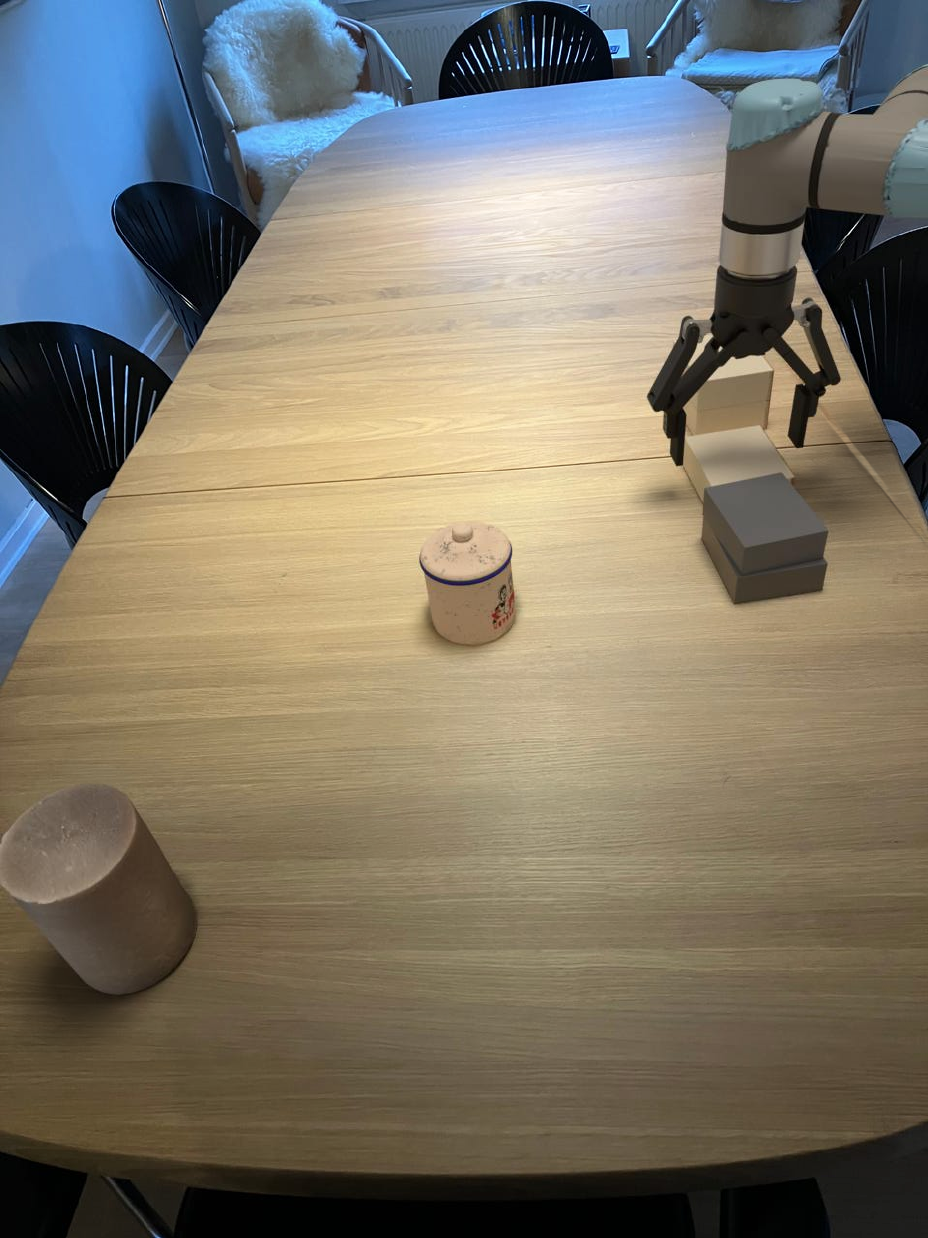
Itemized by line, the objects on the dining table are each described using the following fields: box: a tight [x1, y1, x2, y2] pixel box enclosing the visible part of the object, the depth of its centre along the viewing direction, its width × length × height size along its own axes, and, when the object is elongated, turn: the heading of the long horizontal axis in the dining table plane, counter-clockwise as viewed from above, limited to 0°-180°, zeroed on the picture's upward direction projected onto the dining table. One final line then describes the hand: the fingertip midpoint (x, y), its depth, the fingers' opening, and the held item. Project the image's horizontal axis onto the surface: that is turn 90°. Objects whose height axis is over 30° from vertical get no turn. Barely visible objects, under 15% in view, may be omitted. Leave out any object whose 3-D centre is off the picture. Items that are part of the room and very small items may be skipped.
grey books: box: [700, 472, 829, 605], centre depth 94 cm, size 9×11×7 cm
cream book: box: [682, 425, 796, 504], centre depth 105 cm, size 9×11×4 cm
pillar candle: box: [0, 782, 198, 996], centre depth 67 cm, size 10×10×15 cm
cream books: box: [672, 334, 775, 436], centre depth 116 cm, size 9×11×8 cm
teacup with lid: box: [418, 521, 517, 646], centre depth 92 cm, size 12×9×12 cm
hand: (735, 450), depth 104 cm, fingers open, 13 cm apart
